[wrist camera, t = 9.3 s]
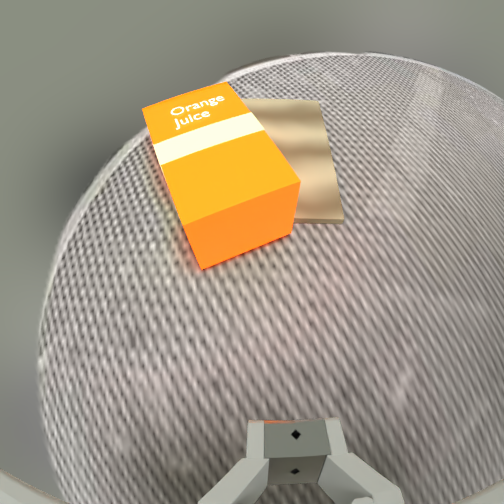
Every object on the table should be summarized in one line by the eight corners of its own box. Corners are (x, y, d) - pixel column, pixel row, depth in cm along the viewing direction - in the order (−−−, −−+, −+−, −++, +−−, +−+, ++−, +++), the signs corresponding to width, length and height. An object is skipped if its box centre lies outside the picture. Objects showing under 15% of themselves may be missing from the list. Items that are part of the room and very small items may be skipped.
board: (216, 104, 39) (216, 99, 38) (317, 105, 38) (318, 101, 38) (198, 222, 29) (196, 217, 28) (342, 223, 29) (344, 219, 28)
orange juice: (302, 179, 21) (209, 60, 29) (181, 225, 19) (133, 84, 27) (291, 233, 28) (215, 110, 36) (200, 271, 26) (150, 133, 34)
